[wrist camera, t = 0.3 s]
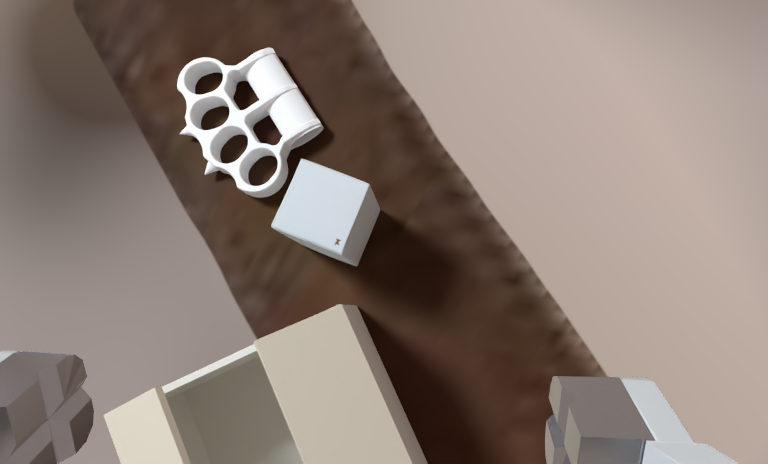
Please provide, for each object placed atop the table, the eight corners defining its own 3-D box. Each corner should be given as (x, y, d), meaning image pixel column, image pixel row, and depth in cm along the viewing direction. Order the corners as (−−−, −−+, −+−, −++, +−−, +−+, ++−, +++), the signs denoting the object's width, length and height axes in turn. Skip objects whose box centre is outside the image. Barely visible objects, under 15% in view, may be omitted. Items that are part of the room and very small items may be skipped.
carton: (433, 477, 59) (438, 528, 45) (247, 564, 59) (194, 643, 45) (356, 305, 62) (338, 304, 48) (179, 388, 62) (110, 411, 48)
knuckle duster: (339, 153, 65) (234, 220, 65) (262, 34, 68) (161, 98, 67) (335, 144, 62) (224, 215, 61) (254, 20, 64) (148, 87, 64)
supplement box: (382, 208, 63) (373, 184, 51) (357, 268, 62) (341, 258, 50) (324, 185, 64) (300, 155, 52) (298, 244, 63) (268, 227, 51)
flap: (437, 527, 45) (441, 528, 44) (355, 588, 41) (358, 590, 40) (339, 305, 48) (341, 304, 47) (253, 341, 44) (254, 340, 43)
